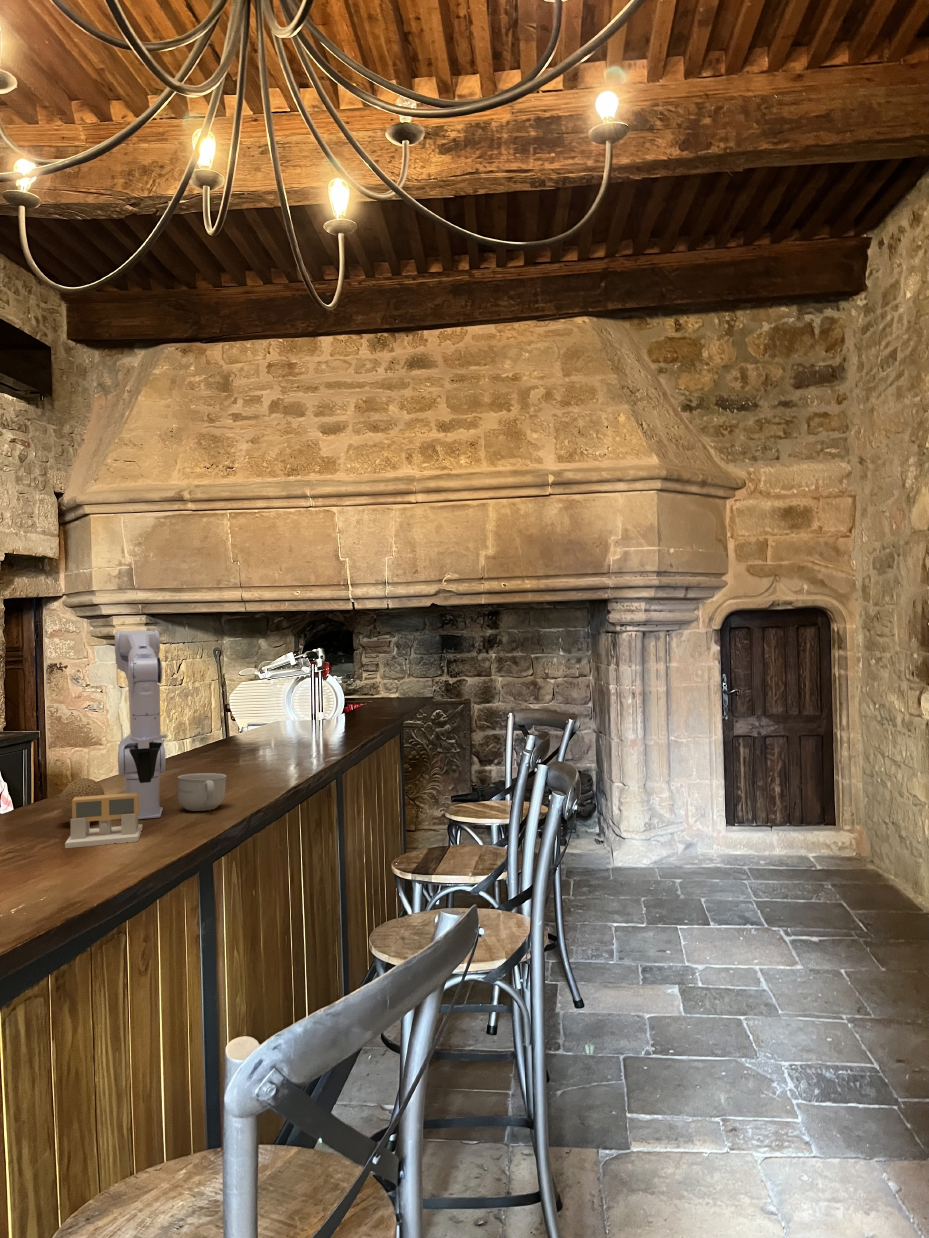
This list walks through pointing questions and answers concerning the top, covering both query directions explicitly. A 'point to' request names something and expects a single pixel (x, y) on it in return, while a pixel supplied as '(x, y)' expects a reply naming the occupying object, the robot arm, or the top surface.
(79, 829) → the display stand
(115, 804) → the wooden block with panels
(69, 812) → the natural sponge
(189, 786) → the teacup
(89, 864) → the top surface
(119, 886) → the top surface
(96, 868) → the top surface
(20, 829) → the top surface
